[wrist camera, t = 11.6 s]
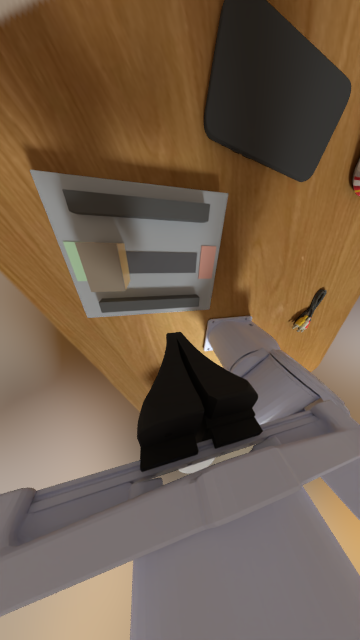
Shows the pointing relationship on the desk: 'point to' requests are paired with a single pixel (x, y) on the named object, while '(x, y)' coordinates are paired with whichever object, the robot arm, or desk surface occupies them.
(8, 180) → the desk surface
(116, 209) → the dark gray raised rails
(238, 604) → the robot arm
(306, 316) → the composite cable
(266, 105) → the phone
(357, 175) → the soda can
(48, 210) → the grey base plate
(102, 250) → the lever
